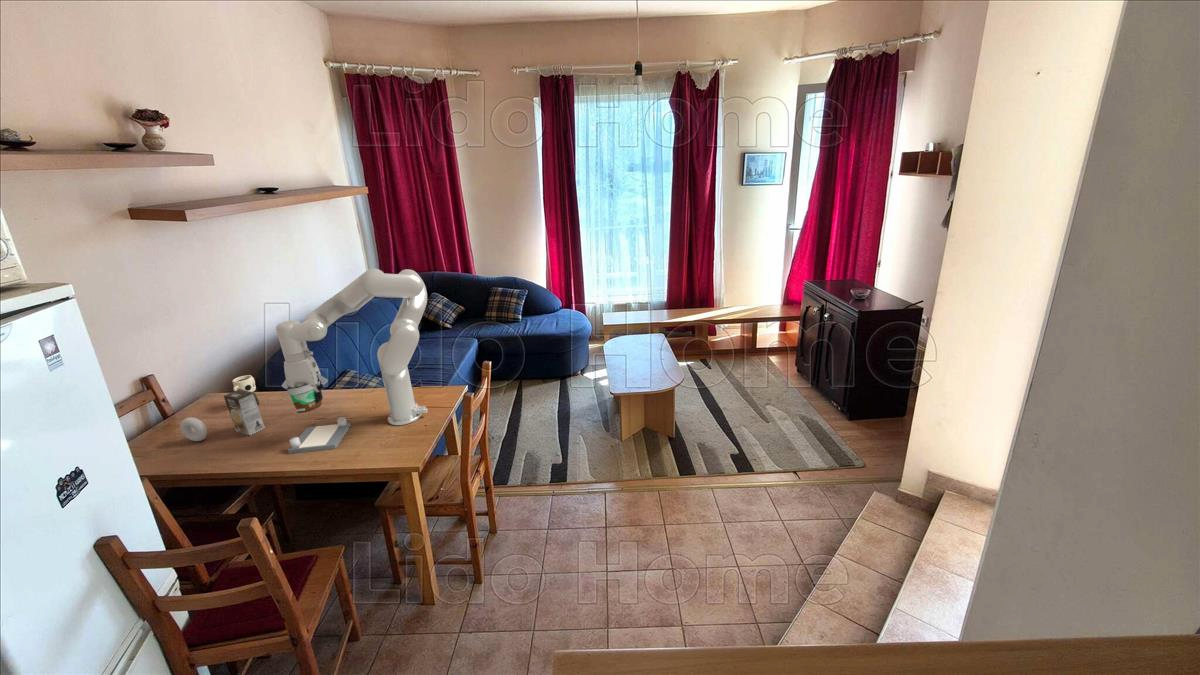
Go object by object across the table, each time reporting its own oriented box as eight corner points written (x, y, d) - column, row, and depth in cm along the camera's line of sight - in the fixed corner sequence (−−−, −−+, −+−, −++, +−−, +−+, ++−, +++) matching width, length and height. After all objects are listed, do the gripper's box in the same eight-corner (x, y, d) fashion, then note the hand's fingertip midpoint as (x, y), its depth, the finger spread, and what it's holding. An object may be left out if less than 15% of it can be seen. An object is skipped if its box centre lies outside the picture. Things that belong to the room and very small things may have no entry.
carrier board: (351, 426, 193) (348, 415, 191) (335, 448, 178) (332, 437, 176) (308, 430, 191) (305, 420, 190) (289, 453, 176) (285, 442, 175)
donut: (183, 442, 188) (173, 419, 185) (191, 437, 192) (182, 415, 188) (205, 443, 187) (196, 420, 183) (213, 439, 190) (204, 416, 186)
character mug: (249, 411, 210) (239, 383, 206) (234, 411, 211) (224, 384, 207) (267, 399, 220) (259, 373, 216) (253, 399, 221) (244, 373, 217)
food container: (309, 415, 174) (301, 390, 170) (294, 415, 175) (286, 389, 171) (332, 399, 185) (326, 375, 182) (318, 399, 186) (311, 374, 183)
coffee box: (235, 432, 194) (222, 395, 188) (251, 424, 199) (239, 388, 194) (249, 436, 190) (236, 399, 184) (266, 428, 195) (254, 391, 190)
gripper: (326, 349, 177) (339, 394, 183) (276, 354, 176) (290, 399, 182) (318, 357, 170) (331, 404, 176) (265, 362, 169) (280, 409, 175)
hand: (310, 401), depth 179 cm, fingers closed on food container, 5 cm apart
